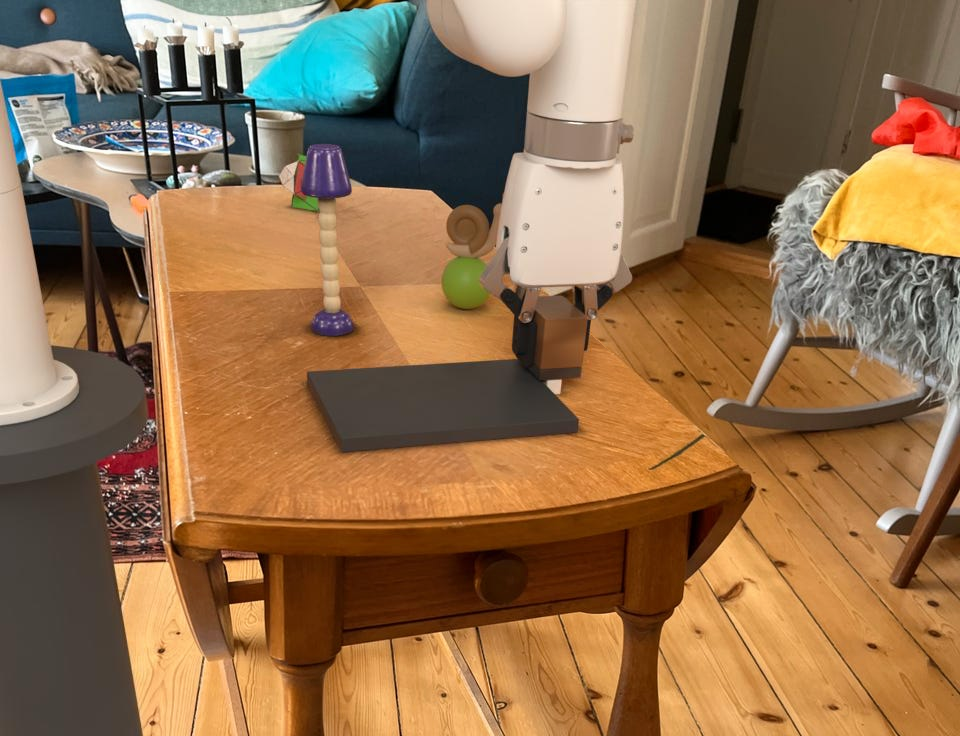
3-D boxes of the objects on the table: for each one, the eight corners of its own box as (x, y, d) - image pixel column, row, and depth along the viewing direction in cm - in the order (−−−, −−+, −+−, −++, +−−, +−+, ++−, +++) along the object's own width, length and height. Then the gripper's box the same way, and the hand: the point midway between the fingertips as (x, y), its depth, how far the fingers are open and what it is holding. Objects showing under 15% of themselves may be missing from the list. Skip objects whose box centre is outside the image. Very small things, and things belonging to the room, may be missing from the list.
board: (341, 452, 80) (340, 438, 79) (307, 384, 91) (306, 371, 90) (577, 432, 86) (579, 419, 85) (519, 370, 97) (520, 358, 96)
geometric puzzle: (305, 180, 145) (285, 135, 138) (349, 187, 143) (331, 142, 136) (286, 221, 143) (265, 178, 136) (330, 228, 141) (310, 185, 134)
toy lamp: (298, 331, 101) (291, 147, 92) (317, 317, 105) (311, 138, 96) (344, 339, 101) (341, 153, 91) (361, 324, 104) (360, 144, 95)
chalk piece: (547, 380, 91) (562, 379, 92) (538, 370, 93) (552, 369, 94) (546, 395, 92) (560, 394, 93) (536, 385, 94) (551, 384, 94)
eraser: (539, 380, 91) (545, 319, 88) (515, 356, 96) (521, 296, 92) (580, 378, 92) (588, 316, 89) (555, 354, 97) (562, 295, 94)
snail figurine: (495, 319, 108) (504, 198, 101) (436, 312, 109) (440, 191, 102) (503, 304, 112) (512, 186, 105) (446, 297, 113) (450, 180, 106)
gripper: (644, 131, 88) (614, 341, 99) (458, 130, 83) (448, 350, 94) (685, 149, 83) (649, 370, 93) (488, 149, 78) (473, 381, 88)
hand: (548, 358), depth 93 cm, fingers closed on eraser, 4 cm apart
